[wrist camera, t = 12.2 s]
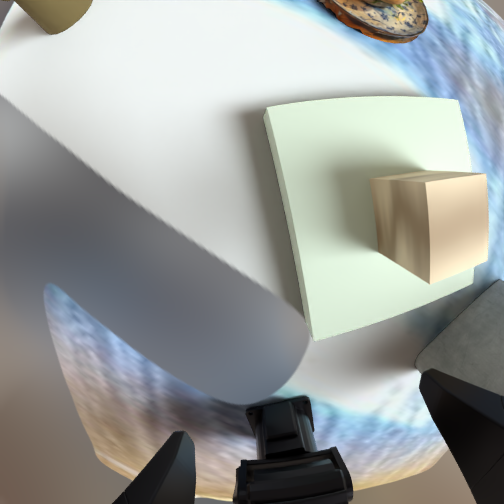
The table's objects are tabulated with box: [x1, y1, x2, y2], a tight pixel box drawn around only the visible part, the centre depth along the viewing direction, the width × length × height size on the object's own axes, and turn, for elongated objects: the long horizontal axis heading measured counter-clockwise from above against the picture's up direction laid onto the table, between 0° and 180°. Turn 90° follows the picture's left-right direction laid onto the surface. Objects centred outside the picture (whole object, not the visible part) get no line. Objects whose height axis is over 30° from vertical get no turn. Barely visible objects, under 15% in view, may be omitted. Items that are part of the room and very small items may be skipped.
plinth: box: [263, 96, 474, 342], centre depth 18 cm, size 16×16×3 cm
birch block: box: [369, 170, 489, 285], centre depth 13 cm, size 5×5×6 cm
